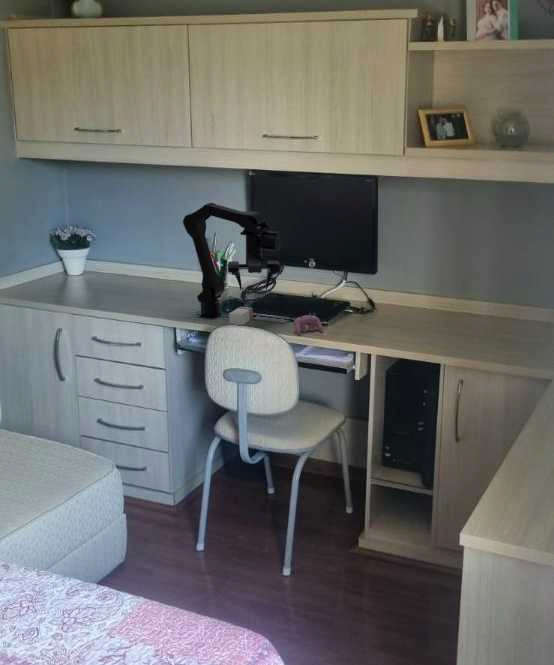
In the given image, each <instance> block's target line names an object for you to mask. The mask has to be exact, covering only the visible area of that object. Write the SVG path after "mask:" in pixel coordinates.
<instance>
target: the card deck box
mask: <svg viewBox="0 0 554 665" xmlns="http://www.w3.org/2000/svg"><path fill="white" fill-rule="evenodd" d="M228 315H229V317H228V320H229V324H230V325H237V326H243V325H244V324H247V323H248V322H249V321H251V320H253V318H254V317H253V307H244V306H238V307H237V308H236V309H234V310H232V311H231V312H229V313H228Z"/></svg>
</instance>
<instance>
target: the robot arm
mask: <svg viewBox="0 0 554 665" xmlns="http://www.w3.org/2000/svg"><path fill="white" fill-rule="evenodd" d="M211 217H215V218H218V219H222V220H224V221H225V220H226V221H229V222H233V223H235V224H237V225H238V226H240V228H242V229H243V230H242V231H241V232H240V233H239V235H240V236H245V263H239V261H238V260H237V261H234V260H233V261H228V262H227V273H229V274H231V275H233V276H235V279H236V280H237V283H238V285H239V289H240V291H242V290H243V285H242V280H241V272H240V271H241V270H247V273H249V274H254V273H257V274H261V273H262V270H266V276H265V277H266V278H265V290H268V288H269V285H270V282H271V279H272V277H273V276H274V275H276V274H277V273H280V272H281V264H280V262H279V261H278V260H268V259H267V258H262V252H263V251H262V250H265V251H266V250H267V251H271V252H279V251H281V249H282V246H283V238H282V236H281V233H280V231H272V230H271V229H270V227H269V226H268V224H267V222H266V221H265V218H264V215H263V213H261V212H259V211H247V210H246V211H242V210H237V209H235V208H231V207H227V206H224V205H219V204H217V203H214V202H210V203H209V202H208V203H206V204H204V205H203V206H201V207H200V208H199V209H197V210H196V211H194V212H191V213H188V214H186V215H185V216H184V217H183V219H182V224H183V227H184V229H185V231H186V233H187V235H189V236H190V237H191V239H192V242H193V246H194V248H195V253H196V256H197V259H198V262H199V267H200V270H201V273H202V280H201V288H202V291H201V292H200V293H199V294H197V296H196V298H197V300H198V303H200V312H201V314H199V315H198V316H199V317H200V318H207V319H208V318H210V319H216V318H217V317H218V316H220V315H222V314H221V313H222V312H221V303H220V298H221V297H222V295H223V293H224V292H225V291H226V290H225V286H226V283H225V281H224V280H225V279H224V276H223V275H222V274H221V275H219V274H218V273H217V271H216V269H215V265H214V261H213V258H212V254H211V250H210V248H209V245H208V240H207V237H206V231H207V220H208V219H209V218H211Z"/></svg>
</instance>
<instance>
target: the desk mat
mask: <svg viewBox="0 0 554 665" xmlns="http://www.w3.org/2000/svg"><path fill="white" fill-rule="evenodd" d="M252 320H253V321H256V322H257V321H258V322H267V323H275V324H281V325H282V324H283V325H285V324H286V323H288V322H289V321H290V320H284V319H276V318H268V317H260V316H258V315H256V316H255V317H253V318H252Z"/></svg>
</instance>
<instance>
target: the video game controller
mask: <svg viewBox="0 0 554 665" xmlns="http://www.w3.org/2000/svg"><path fill="white" fill-rule="evenodd" d="M307 324H309V325H308V327H307V326H306V325H307ZM293 326H294V330H295V333H296V334H297V335H298V336H300V335H301V333H305V332H306V331H307V330H308V331H310V332H314V331H315V329H316V328H317V329H318V332H320V333H321V332H322V333H323V331H324V329H323V325H322V323H321V320H320V318H319V317H317V316H316V315H308V314H307V315H302V316H300V317H297V318H296V319H295V320H294V321H293Z"/></svg>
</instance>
